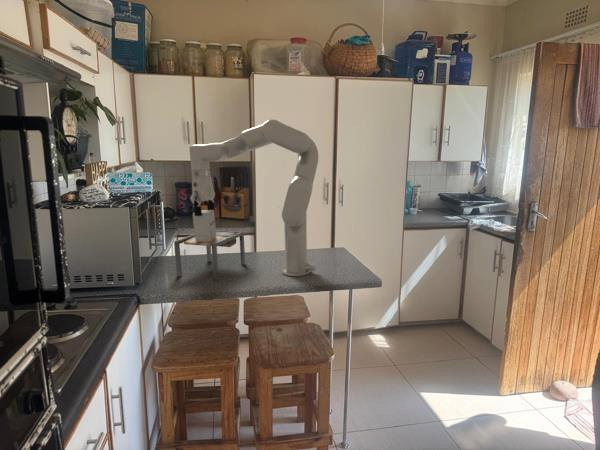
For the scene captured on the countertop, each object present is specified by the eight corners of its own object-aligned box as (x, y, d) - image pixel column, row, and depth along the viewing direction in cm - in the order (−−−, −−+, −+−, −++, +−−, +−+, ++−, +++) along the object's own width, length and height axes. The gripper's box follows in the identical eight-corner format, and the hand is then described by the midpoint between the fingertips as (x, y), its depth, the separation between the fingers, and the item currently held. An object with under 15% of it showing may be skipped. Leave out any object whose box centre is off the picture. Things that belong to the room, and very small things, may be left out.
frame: (245, 264, 187) (243, 231, 184) (216, 280, 164) (214, 244, 161) (209, 260, 194) (206, 229, 191) (177, 276, 171) (173, 241, 168)
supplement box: (211, 241, 169) (208, 213, 166) (195, 242, 170) (191, 213, 167) (217, 237, 176) (214, 209, 173) (201, 237, 177) (198, 209, 174)
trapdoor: (236, 243, 182) (235, 232, 181) (217, 255, 167) (215, 243, 166) (206, 241, 188) (205, 230, 186) (185, 252, 172) (183, 241, 171)
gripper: (196, 175, 158) (200, 217, 161) (219, 172, 174) (223, 210, 177) (181, 176, 160) (185, 217, 164) (205, 172, 176) (208, 210, 179)
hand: (205, 213), depth 170 cm, fingers open, 9 cm apart
